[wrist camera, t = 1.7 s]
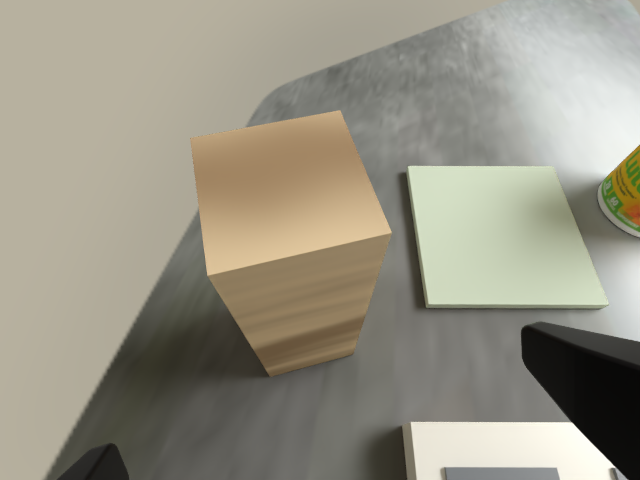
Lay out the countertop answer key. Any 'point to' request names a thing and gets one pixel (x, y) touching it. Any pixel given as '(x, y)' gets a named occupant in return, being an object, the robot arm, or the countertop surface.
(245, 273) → the oak post
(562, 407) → the robot arm
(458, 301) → the mat
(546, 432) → the label panel
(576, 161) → the countertop surface
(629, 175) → the supplement bottle
